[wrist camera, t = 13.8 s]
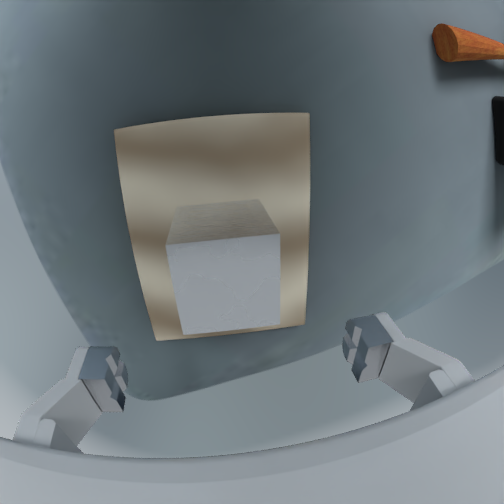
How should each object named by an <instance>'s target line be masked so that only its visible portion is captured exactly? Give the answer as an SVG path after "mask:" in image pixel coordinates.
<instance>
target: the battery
mask: <svg viewBox="0 0 504 504" xmlns="http://www.w3.org/2000/svg"><path fill="white" fill-rule="evenodd" d="M493 109H494V120H495V135H496V160H497V162H498V163H499V164H502V165H504V97H500V96H495V97H493Z"/></svg>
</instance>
